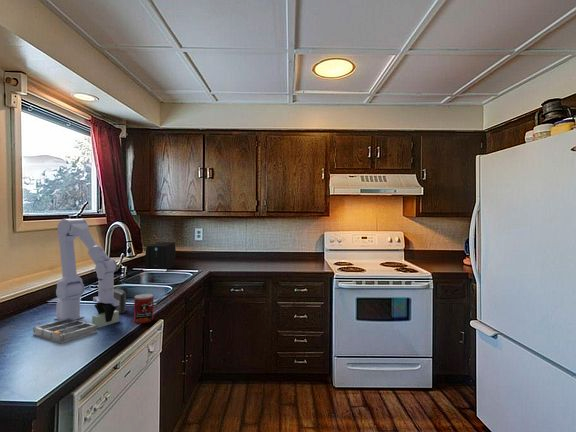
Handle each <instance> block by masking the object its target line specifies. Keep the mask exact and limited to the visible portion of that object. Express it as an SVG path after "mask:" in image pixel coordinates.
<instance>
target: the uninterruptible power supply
mask: <svg viewBox="0 0 576 432" xmlns="http://www.w3.org/2000/svg"><path fill="white" fill-rule="evenodd" d="M176 258H177V251H176V243H175V242H171V241H169V242H168V241H166V242H164V241H163V242H162V241H161V242H155V243H151V244H148V245H146V247H145V256H144V262H145V263H144V264H145V270H146V269H167V268H169V267H171V266H172V265H174V264H176Z"/></svg>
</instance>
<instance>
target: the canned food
mask: <svg viewBox="0 0 576 432" xmlns="http://www.w3.org/2000/svg"><path fill="white" fill-rule="evenodd" d="M133 299H134V303H133V304H134V308H133V310H134V312H133V313H134V314H133V315H134V319H133V320H134V322H135V324H148V323H150V322H153V320H154V295H153V294H152V293H140V294H136V295H135V296H134V298H133Z"/></svg>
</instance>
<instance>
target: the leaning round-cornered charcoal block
mask: <svg viewBox="0 0 576 432" xmlns="http://www.w3.org/2000/svg"><path fill="white" fill-rule="evenodd" d="M114 298H115V299H116V300H118V301H119V305H118V306H117V307H116V309H115V310H116V311H119V314H125V312H126V309H127V299H126V298H127V293H126V291H124V290H123V289H119V288H114Z"/></svg>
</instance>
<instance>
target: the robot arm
mask: <svg viewBox="0 0 576 432" xmlns="http://www.w3.org/2000/svg"><path fill="white" fill-rule="evenodd" d="M56 225H57V235H58V242H59V243H58V244H59V254H60V255H59V256H60V264H61V273H62V275H61V276H62V277H61V278H60V279H59V280H58V281H57V282H56V290H55V294H56V297H57V298H58V300H57V302H56V306H55V307H56V311H55V313H56V317H53V318H54V320H57V321H59V320H63V319H67V318H71V319H75V320H80V319H83V318H85V316H84V315H81V298H82V295H84V293H85V290H86V289H85V285H84V282H83V279H82V278H81V277H80V276H79V275H78V273H77V272H78V271H77V264H76V263H77V262H76V252H75V244H74V243H75V242H74V241H75V239H76V238H79V239H80V240H81V242H82V243H83V244H84V245H85V246H86V248H87V249H88V251H87V254H88V256H89V258H90V259H91V260H92V262H93V263H94V265H95V267H94V270H95V272H96V278H97V279H98V285H97V286H98V289H97V291H98V296H93V297H92V301H93V303H94V302H95V304H94V308H95V309H96V311H97V315H98V314H101V313H105V319H106V322H109V321H112V317H113V314H114V311H115V309H116V307H117V306H118V305H119V301H118V300H116V299H115V298H114V289H115V288H114V286H115V285H114V284H115V283H114V280H115V279H114V277H115V275H114V273H115V272H116V271H117V269H118V265H117V262H116V260H115V259H114V258H111V257H109V256H108V254H107V253H106V251H105V250H104V248H103V246H102V245H98V244H97V243H96V241H95V239H94V237H93V236H92V234H91V232H90V230H89V226H90V225H89V224H88V222H87V220H86V219H85V218H83V217H82V218H62V219H61V220H60V221H59V222H58V223H57V224H56Z"/></svg>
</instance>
